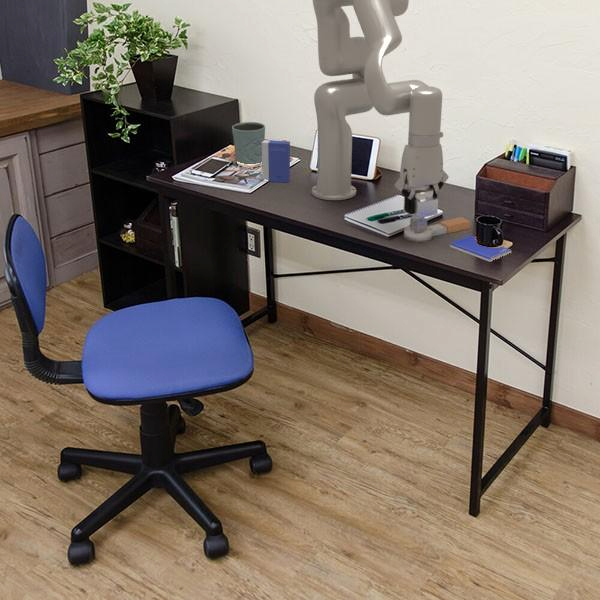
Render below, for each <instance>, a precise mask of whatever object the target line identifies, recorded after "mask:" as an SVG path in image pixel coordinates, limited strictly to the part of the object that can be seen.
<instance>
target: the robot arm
mask: <svg viewBox="0 0 600 600" xmlns="http://www.w3.org/2000/svg"><path fill="white" fill-rule="evenodd" d="M409 2H410V0H312V7H313V11H314V14H315V18H316V25H317V26H316V27H317V51H318V52H317V57H318V65H319V69H320V72H321V73H322V74H323V75H324V76H327V77H337V76H346V75H347V76H348V75H352V78H347V79H339V80H333V81H327V82H325V83H322V84H320V85H319V86H318V87H317V88H316V90H315V91H314V95H313V100H314V108H315V109H314V110H315V114H316V121H317V122H316V123H317V164H316V165H317V168H316V170H317V172H316V173H315V174H314V175H313V178H314V179H315V180H316V185H314V186H313V187H312V188H311V194H312V195H313V197H315V198H318V199H321V200H325V201H343V200H347V199H348V200H349V199H352V198H353V197H355V196H356V194H357V188H356V187H355V186H353V185H352V159H353V158H352V157H353V155H352V153H353V130H352V128H351V125H350V124H349V123H348V122H347V119H346V117H347V116H350V115H351V116H352V115H358V114H362V113H368V112H370V111H371V110H373V109H375V111H376V112H377V113H378V114H380V115H382V116H387V117H388V116H395V115H400V114H405V113H409V115H408V118H409V119H408V137H407V138H408V140H407V144H405V145H404V148H403V152H402V155H401V156H402V157H401V163H400V170H399V178H398V179H397V181H396V182H395V183H394V187H395V189H396V190H397V191H398V192H399V193H400V194H401V195H402V196H403V198H404V197H405V203H404V202H403V210H404V209H405V213H406V212H407V213H406V214H408V213H409V214H408V215H410V214H414V201H415V199H413V196H414V193H415V190H416V188H417V187H422V186H427V187H430V188H432V189H433V197H435V198H437V199H438V195H439V194H440V190H441V189H442V188H443V187H444V184H445V183H446V182H447V181H448V179H449V175H448V174H447V172H445V170H444V156H443V148H442V147H443V146H442V144H441V143H440V142H441V138H443V136H444V133H443V131H441V127H442V126H441V123H442V110H443V109H442V108H443V93H442V90H441V89H440V88H439V87H436V86H430V85H428V84H426V82H424V81H422V80H420V79H419V80H418V79H411V80H402V81H396V82H389V83H388V82H387V80H386V76H385V74H384V72H383V67H382V66H383V65H382V64H383V58H384V57H385V56H387V55H389V54H391V53H392V52H393V51H395V50H396V49H397V48H398V47H399V46H400V45H401V43H402V41H403V35H402V33H401V30H400V28H399V25H398V22H397V20H396V18H395V17H400V16H403V14H405V13H406V12H407V10H408V7H409ZM343 7H353V10H354V13H355V16H356V18H357V21H358V23H359V26H360V30H361V31H362V34H363V36H351V33H350V32H351V31H350V28H351V27H350V21H349V18H348V15H347V13H346V12H345V10H344V9H343ZM404 185H405V187H404ZM410 188H411V189H410Z"/></svg>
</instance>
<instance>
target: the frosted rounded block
mask: <svg viewBox="0 0 600 600" xmlns="http://www.w3.org/2000/svg"><path fill="white" fill-rule="evenodd" d="M410 189H411V188H410ZM413 199H415V201H414V214H409V213H407V212H405V209H404V208H403V212H405V213H406V214H407V215H410V216H411V217H416V218H422V217H424V218H426V217H431V216H435V215H438V209H439V198H438V197H437V198H435V197H433V189H432V188H430V187H428V186H422V187H417V188H416V190H415V193H414V196H413ZM404 203H405V197H404V196H403V204H404Z"/></svg>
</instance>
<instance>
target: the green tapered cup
mask: <svg viewBox="0 0 600 600" xmlns="http://www.w3.org/2000/svg"><path fill="white" fill-rule="evenodd" d="M231 131H232V136H233V146H234V153H235V162H236V161H238V162H240V163H244V164H256V163H261V162H262V142H263V141H264V140H266V138H265V137H266V136H265V135H266V125H265V124H264V123H261V122H255V121H247V122H245V121H244V122H239V123H235V124H233V125H232V126H231Z"/></svg>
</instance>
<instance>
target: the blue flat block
mask: <svg viewBox="0 0 600 600" xmlns="http://www.w3.org/2000/svg"><path fill="white" fill-rule="evenodd" d="M475 239H476V236H473V235H468V236H465V237H462V238H460V239H457V240H454V241H452V242H450V243H449V247H450V248H452V249H455V250H457V251H459V252H463V253H466V254H468V255H471V256H473V257H476V258H479V259H481V260H483V261H487V262H489V263H491V262H493V260H494V261H496V260H499V259H501V258H503V257H505V256H508V255H510V254H512V249H511V248H507V247H504V246H502V247H500V248H490V247H486V246H482V245H479V244H477V242H476V240H475ZM509 253H510V254H509ZM507 254H508V255H507ZM502 256H503V257H502ZM500 257H501V258H500ZM495 259H496V260H495Z"/></svg>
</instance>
